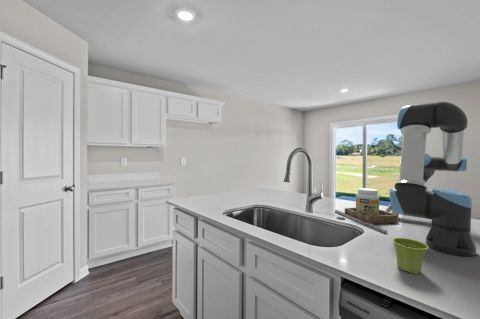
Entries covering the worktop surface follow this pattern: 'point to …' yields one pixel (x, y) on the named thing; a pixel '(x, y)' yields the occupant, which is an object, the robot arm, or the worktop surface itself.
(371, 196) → the supplement tub
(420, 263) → the plant pot
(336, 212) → the rail
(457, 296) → the worktop surface
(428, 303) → the worktop surface
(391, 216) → the wooden tray
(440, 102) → the robot arm
